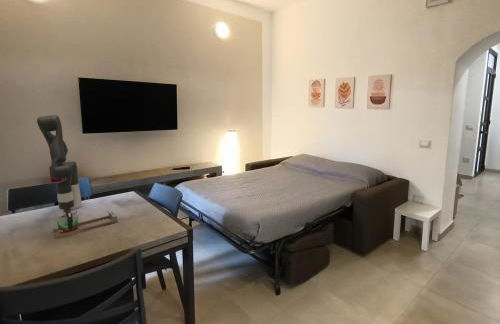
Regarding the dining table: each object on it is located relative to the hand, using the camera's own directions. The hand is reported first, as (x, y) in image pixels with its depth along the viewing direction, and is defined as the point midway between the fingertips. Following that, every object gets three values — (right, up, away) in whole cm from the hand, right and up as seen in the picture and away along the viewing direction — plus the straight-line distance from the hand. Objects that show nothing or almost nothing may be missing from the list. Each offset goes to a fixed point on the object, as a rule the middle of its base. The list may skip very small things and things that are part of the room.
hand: (69, 226), depth 166 cm
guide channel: (+7, -1, +6) cm, 9 cm away
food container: (0, -3, 0) cm, 3 cm away
